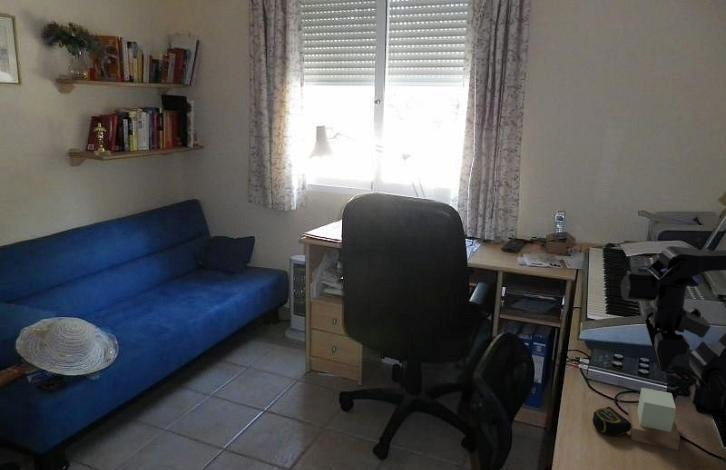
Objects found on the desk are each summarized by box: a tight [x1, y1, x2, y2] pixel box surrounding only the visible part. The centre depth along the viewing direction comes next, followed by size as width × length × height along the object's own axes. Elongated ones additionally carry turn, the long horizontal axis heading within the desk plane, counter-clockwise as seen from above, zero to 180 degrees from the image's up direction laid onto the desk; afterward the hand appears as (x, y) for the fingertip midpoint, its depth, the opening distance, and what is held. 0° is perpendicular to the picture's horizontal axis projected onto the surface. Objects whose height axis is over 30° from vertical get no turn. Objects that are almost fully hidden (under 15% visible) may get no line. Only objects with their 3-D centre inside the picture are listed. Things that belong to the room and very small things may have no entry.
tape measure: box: [592, 406, 631, 437], centre depth 118 cm, size 7×7×4 cm
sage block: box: [637, 387, 677, 432], centre depth 115 cm, size 6×6×6 cm
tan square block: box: [627, 405, 681, 451], centre depth 117 cm, size 9×9×3 cm
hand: (659, 361), depth 125 cm, fingers open, 9 cm apart
